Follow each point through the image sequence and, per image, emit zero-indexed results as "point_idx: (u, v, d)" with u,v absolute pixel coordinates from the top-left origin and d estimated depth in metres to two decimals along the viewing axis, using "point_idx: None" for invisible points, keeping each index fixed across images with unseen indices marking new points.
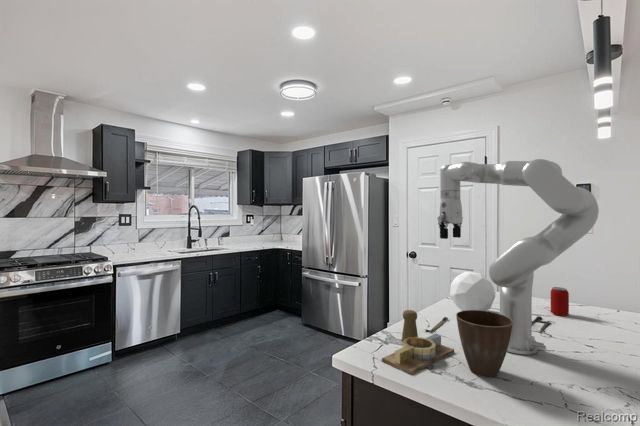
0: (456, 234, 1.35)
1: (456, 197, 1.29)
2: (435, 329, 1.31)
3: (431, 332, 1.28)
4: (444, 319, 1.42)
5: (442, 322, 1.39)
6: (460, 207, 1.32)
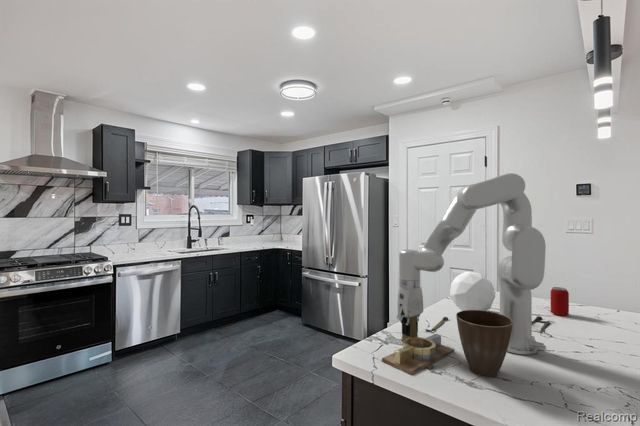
0: None
1: (415, 288, 1.17)
2: (435, 329, 1.31)
3: (431, 332, 1.28)
4: (444, 319, 1.43)
5: (442, 322, 1.39)
6: (420, 296, 1.20)
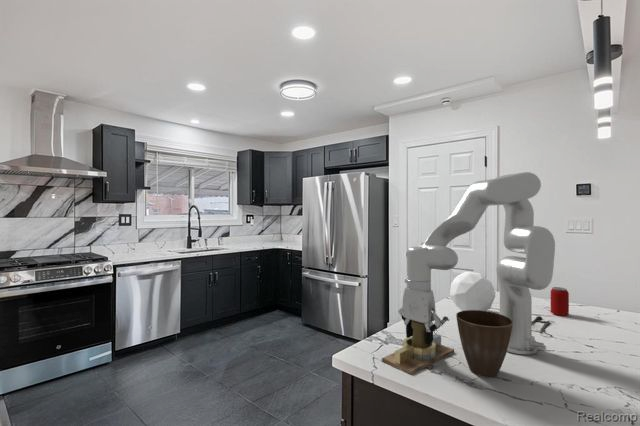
0: None
1: (408, 288, 1.06)
2: (436, 328, 1.32)
3: None
4: (444, 318, 1.43)
5: (442, 321, 1.40)
6: (422, 303, 1.03)
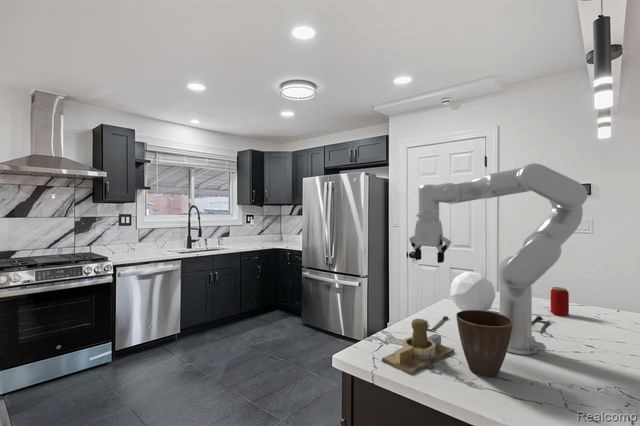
0: None
1: (420, 219, 1.25)
2: None
3: (432, 331, 1.29)
4: (444, 318, 1.44)
5: (442, 321, 1.40)
6: (431, 229, 1.22)
